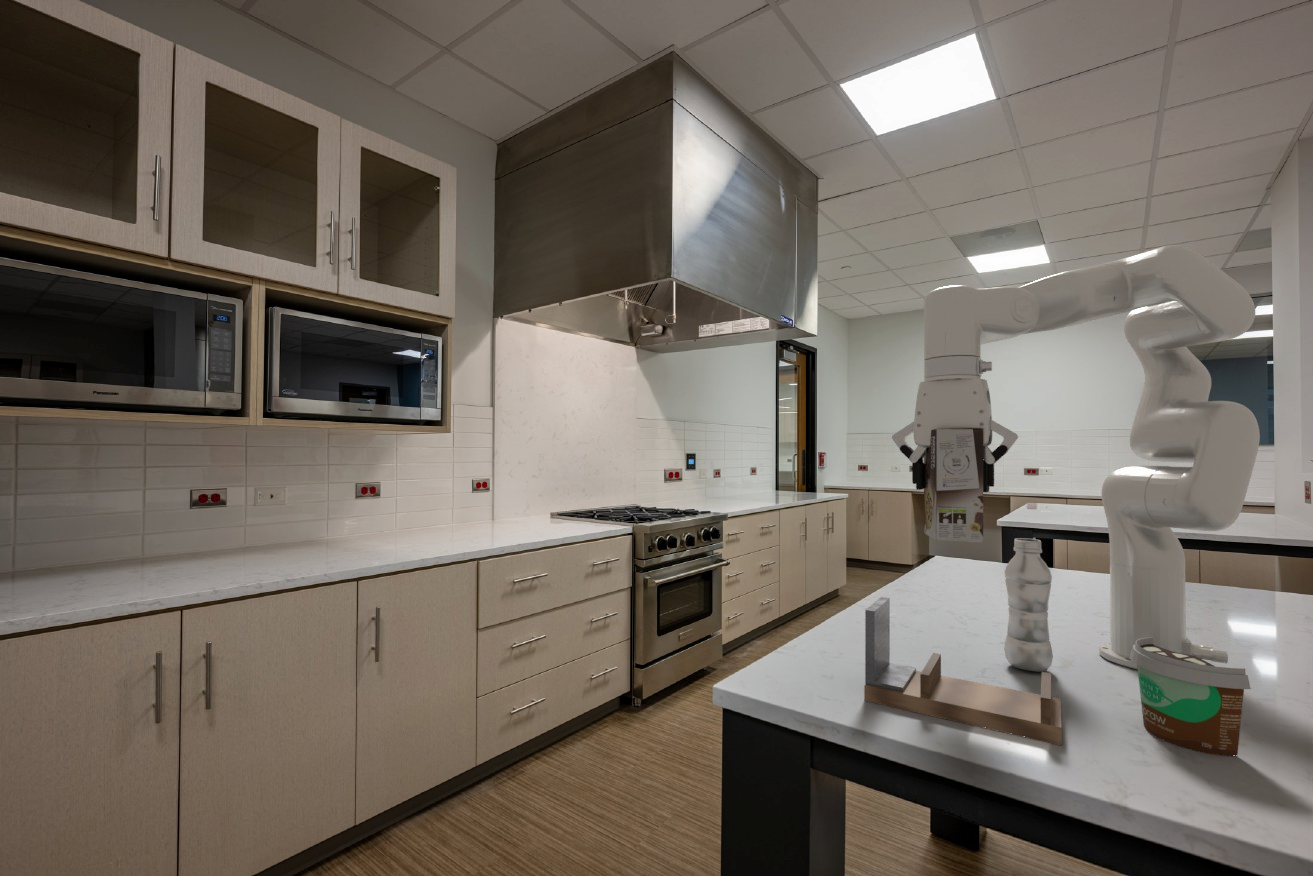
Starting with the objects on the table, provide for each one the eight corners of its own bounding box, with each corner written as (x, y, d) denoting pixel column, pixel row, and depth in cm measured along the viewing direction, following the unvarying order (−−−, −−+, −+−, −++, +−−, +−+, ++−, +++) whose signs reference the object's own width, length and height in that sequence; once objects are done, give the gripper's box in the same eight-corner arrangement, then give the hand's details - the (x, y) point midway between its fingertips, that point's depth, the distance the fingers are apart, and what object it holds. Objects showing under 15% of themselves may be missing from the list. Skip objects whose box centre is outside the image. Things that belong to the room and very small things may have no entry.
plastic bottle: (1049, 665, 96) (1048, 538, 96) (1056, 679, 89) (1055, 544, 90) (1002, 659, 98) (1001, 535, 99) (1006, 672, 92) (1006, 541, 93)
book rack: (1060, 714, 77) (1060, 674, 78) (1061, 745, 69) (1061, 701, 69) (881, 677, 89) (881, 643, 90) (864, 700, 81) (864, 663, 81)
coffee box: (985, 543, 84) (985, 427, 84) (935, 541, 85) (935, 427, 86) (967, 535, 92) (967, 429, 93) (922, 533, 94) (922, 429, 94)
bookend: (915, 671, 86) (915, 601, 87) (902, 692, 79) (902, 615, 79) (881, 665, 89) (881, 597, 89) (865, 684, 82) (865, 609, 82)
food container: (1105, 715, 77) (1104, 636, 78) (1149, 714, 78) (1148, 636, 78) (1199, 765, 65) (1198, 671, 65) (1251, 763, 66) (1250, 670, 66)
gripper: (1022, 371, 87) (1022, 492, 87) (896, 378, 97) (896, 487, 97) (1018, 364, 81) (1018, 494, 81) (884, 373, 91) (884, 489, 91)
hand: (952, 489), depth 89 cm, fingers closed on coffee box, 8 cm apart
